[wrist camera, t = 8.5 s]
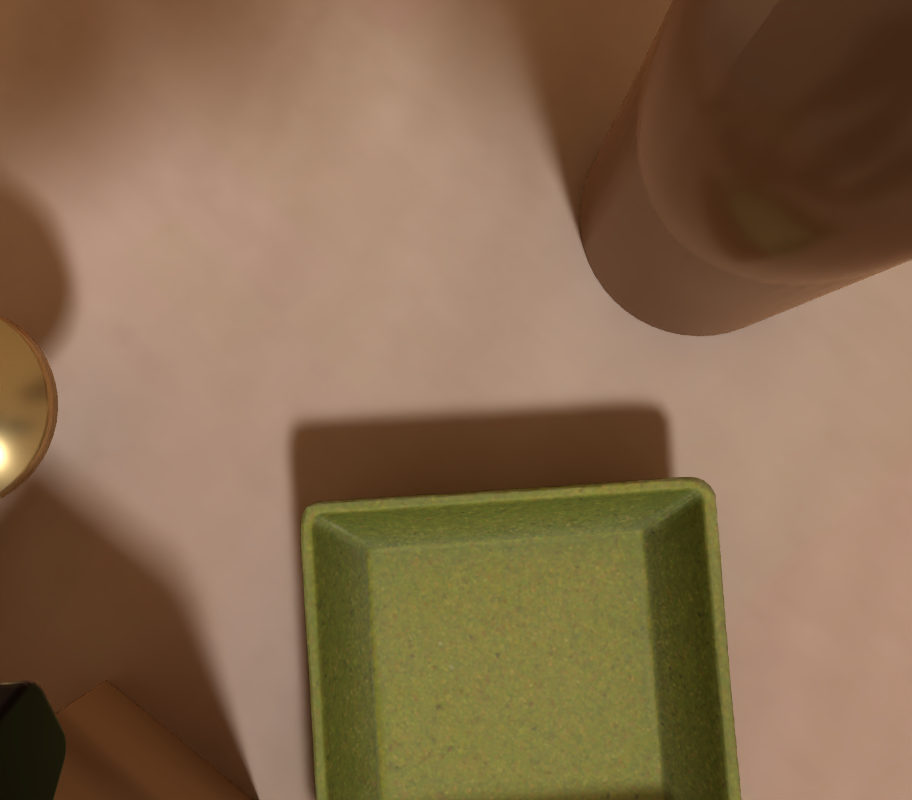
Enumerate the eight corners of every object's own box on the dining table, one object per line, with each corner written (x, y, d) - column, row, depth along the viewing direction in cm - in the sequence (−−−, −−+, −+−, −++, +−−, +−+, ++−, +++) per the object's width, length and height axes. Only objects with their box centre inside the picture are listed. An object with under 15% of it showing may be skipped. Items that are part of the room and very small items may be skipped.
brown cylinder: (720, 384, 18) (1369, 236, 5) (532, 238, 18) (712, -249, 5) (862, 199, 19) (1821, -378, 6) (675, 57, 19) (1174, -823, 6)
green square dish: (687, 472, 19) (716, 475, 16) (718, 854, 18) (753, 908, 16) (315, 496, 19) (298, 502, 16) (336, 880, 18) (320, 937, 16)
